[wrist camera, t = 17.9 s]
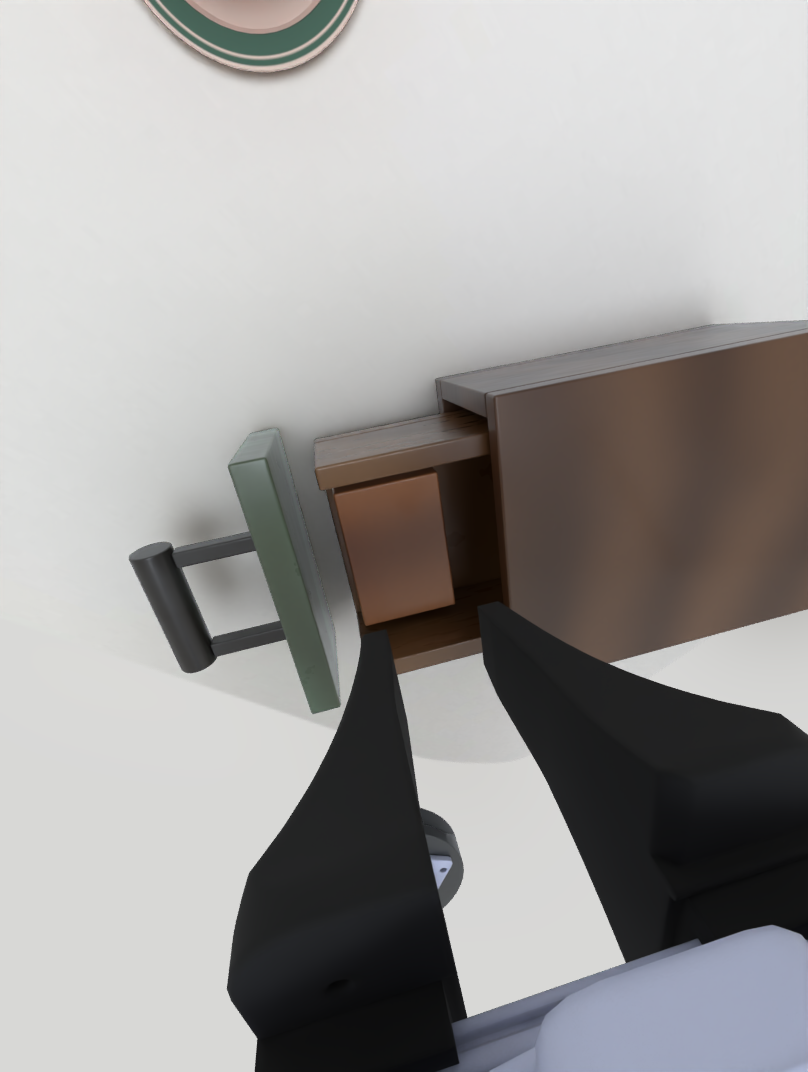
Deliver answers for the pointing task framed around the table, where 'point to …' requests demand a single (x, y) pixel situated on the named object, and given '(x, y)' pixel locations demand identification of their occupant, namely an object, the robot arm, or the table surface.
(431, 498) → the brown rectangular block
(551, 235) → the table surface
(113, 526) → the table surface
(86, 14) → the table surface
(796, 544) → the cabinet
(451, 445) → the drawer
